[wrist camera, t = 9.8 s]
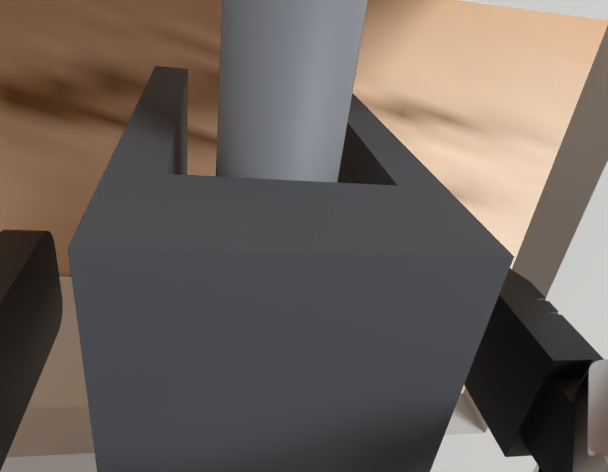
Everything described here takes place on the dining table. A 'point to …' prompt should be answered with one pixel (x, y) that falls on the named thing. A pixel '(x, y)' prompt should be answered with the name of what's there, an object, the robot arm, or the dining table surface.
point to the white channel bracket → (325, 168)
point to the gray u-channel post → (275, 306)
